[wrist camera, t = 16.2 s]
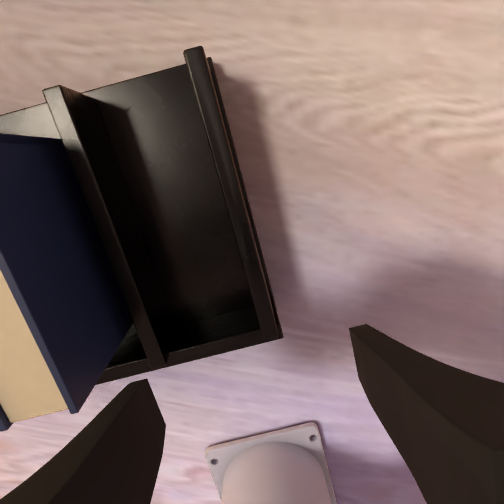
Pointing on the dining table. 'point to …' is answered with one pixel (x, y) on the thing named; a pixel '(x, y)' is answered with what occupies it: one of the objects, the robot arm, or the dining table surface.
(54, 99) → the rack
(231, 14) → the dining table surface
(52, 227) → the book
